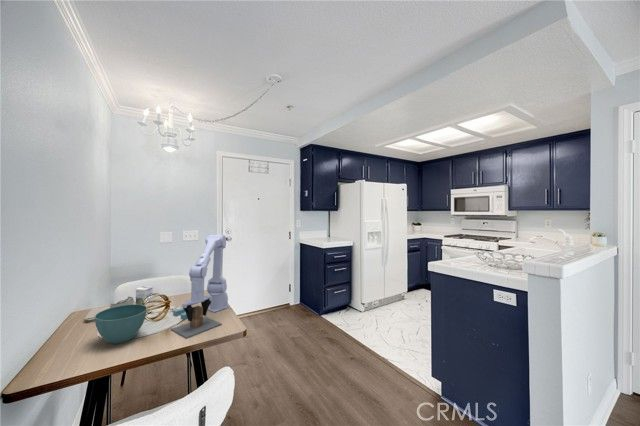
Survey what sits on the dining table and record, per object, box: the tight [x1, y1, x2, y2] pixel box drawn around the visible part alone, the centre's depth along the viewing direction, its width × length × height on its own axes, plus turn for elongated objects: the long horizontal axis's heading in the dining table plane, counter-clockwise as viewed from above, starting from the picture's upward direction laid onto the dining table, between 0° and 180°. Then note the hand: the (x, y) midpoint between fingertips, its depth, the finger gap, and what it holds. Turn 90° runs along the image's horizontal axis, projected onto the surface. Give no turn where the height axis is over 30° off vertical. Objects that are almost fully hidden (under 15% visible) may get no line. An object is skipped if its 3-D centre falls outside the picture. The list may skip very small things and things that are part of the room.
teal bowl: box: [94, 303, 147, 345], centre depth 113 cm, size 18×18×12 cm
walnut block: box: [189, 305, 204, 328], centre depth 126 cm, size 4×4×9 cm
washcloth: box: [83, 305, 110, 324], centre depth 138 cm, size 12×18×3 cm, turn 34°
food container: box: [109, 296, 135, 308], centre depth 134 cm, size 12×6×10 cm, turn 179°
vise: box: [169, 306, 188, 321], centre depth 141 cm, size 5×17×2 cm, turn 56°
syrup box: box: [135, 285, 154, 305], centre depth 142 cm, size 6×6×14 cm
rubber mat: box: [170, 316, 222, 339], centre depth 126 cm, size 18×14×1 cm
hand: (197, 318), depth 126 cm, fingers open, 7 cm apart
